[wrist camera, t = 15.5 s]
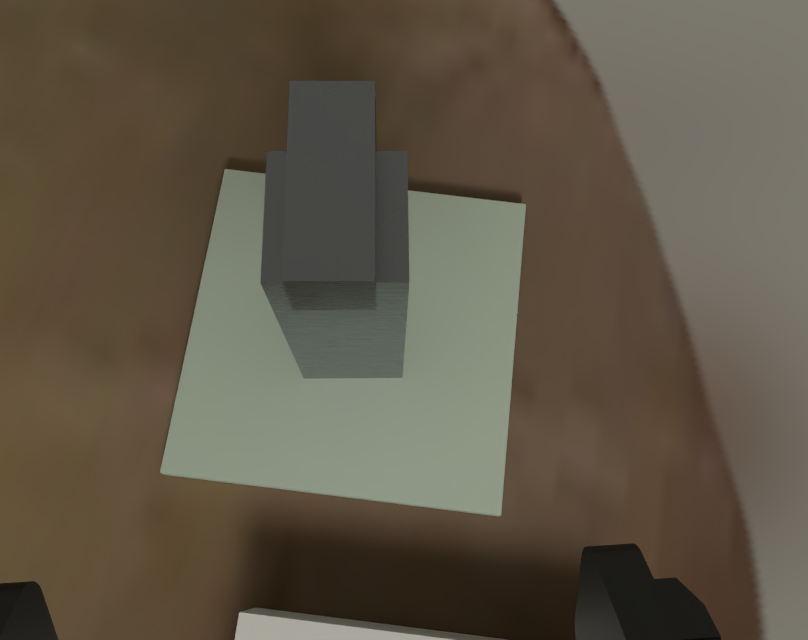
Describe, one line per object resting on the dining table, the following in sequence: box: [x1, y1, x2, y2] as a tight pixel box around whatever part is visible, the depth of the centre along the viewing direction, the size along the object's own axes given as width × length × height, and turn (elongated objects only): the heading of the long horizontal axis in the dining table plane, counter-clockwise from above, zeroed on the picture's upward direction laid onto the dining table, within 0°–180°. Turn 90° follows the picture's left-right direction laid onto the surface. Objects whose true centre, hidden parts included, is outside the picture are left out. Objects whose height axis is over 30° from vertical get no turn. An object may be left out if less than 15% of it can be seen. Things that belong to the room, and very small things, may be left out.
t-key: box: [260, 81, 409, 379], centre depth 23 cm, size 4×5×12 cm
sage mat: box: [160, 169, 526, 516], centre depth 29 cm, size 12×12×1 cm
